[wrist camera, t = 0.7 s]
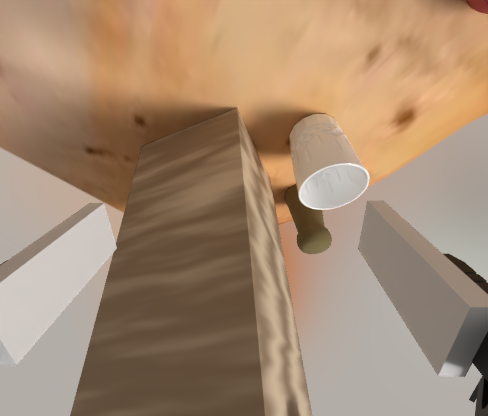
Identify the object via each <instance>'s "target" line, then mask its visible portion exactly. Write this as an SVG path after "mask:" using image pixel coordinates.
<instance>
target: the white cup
mask: <svg viewBox="0 0 488 416" xmlns="http://www.w3.org/2000/svg"><path fill="white" fill-rule="evenodd" d="M289 145H290V149H291V158H292V164H293V171H294V176H295V181H296V186H297V191H298V196H299V199H300V201H301V203H302V204H304V205H305V206H307V207H309V208H312V209H317V210H327V209H333V208H338V207H341V206H343V205H346V204H348V203H350V202H352V201H353V200H355V199H356V198H357V197H359V196H360V195H361V194H362V193H363V192H364V191H365V189H366V188H367V186H368V184H369V174H368V172H367V170H366V168H365V166H364V165H363V163H362V161H361V160H360V158H359V156H358V154H357V153H356V151H355V149H354V147H353V146H352V144H351V143H350V141H349V140H348V138H347V136H346V135H345V134H344V132H343V131H342V130H341V128H340V127H339V125H338V123H337V121H336V120H335V119H334V118H333V117H331V116H329V115H327V114H313V115H310V116H307V117H305V118H303V119H302V120H300V121H299V122H298V123H297V124H296V125H294V127H293V129H292V131H291V133H290V135H289Z"/></svg>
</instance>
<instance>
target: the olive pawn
mask: <svg viewBox="0 0 488 416" xmlns="http://www.w3.org/2000/svg"><path fill="white" fill-rule="evenodd" d="M285 200H286V202H287V205H288V208H289V210H290V213H291V215H292V218H293V220H294V223H295V225H296V228H297V230H298V235H297V244H298V247H299V248H300V249H301V250H302V251H303V252H304V253H308V254H317V253H321V252H323V251H325V250H327V249H328V248H329V246H330V245H331V241H332V240H331V239H332V238H331V234H330V232H329V231H328V229H327V228H325V227H324V221H323V214H322V210H317V209H312V208H309V207H307V206H305V205H304V204H302V203H301V201H300V199H299V196H298V191H297V186H296V185H294V186H292V187H291V188H289V189H288V190H287V191H286V193H285Z"/></svg>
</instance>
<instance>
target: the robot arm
mask: <svg viewBox="0 0 488 416" xmlns="http://www.w3.org/2000/svg"><path fill="white" fill-rule="evenodd" d="M116 249H117V247H116V243H115V240H114V236H113V232H112V229H111V226H110V222H109V218H108V215H107V212H106V208H105V204H104V203H89V204H88V205H86V206H85V207H83V208H82V209H81V210H79V211H78V212H76V213H75V214H73V215H72V216H71V217H69V218H68V219H66V220H65V221H63V222H62V223H61V224H59V225H58V226H56V227H55V228H53V229H52V230H51V231H49V232H48V233H46V234H45V235H44V236H42V237H41V238H39V239H38V240H36V241H35V242H33V243H32V244H31V245H29V246H28V247H26V248H25V249H23V250H22V251H21V252H19V253H18V254H16V255H15V256H13V257H12V258H11V259H9V260H7V261H5V262H4V263H2V264H1V265H0V365H17V364H18V363H19V361H20V360H21V359H22V358H23V357H24V356H25V354H26V353H27V352H28V351H29V350H30V349H31V348H32V346H33V345H34V344H35V343H36V342H37V340H38V339H39V338H40V337H41V336H42V335H43V333H44V332H45V331H46V330H47V329H48V328H49V327H50V325H51V324H52V323H53V322H54V321H55V320H56V319H57V317H58V316H59V315H60V314H61V313H62V312H63V310H64V309H65V308H66V307H67V306H68V305H69V303H70V302H71V301H72V300H73V299H74V298H75V296H76V295H77V294H78V293H79V292H80V291H81V290H82V288H83V287H84V286H85V285H86V284H87V283H88V281H89V280H90V279H91V278H92V277H93V275H94V274H95V273H96V272H97V271H98V270H99V269H100V267H101V266H102V265H103V264H104V263H105V262H106V260H107V259H108V258H109V257H110V256H111V255H112V254H113V252H114V251H115V250H116ZM358 249H359V251H360V252H361V254H362V256H363V257H364V258H365V260H366V262H367V263H368V265H369V267H370V268H371V270H372V271H373V273H374V274H375V276H376V278H377V279H378V281H379V283H380V284H381V286H382V287H383V289H384V291H385V292H386V293H387V295H388V297H389V298H390V300H391V302H392V303H393V305H394V306H395V308H396V310H397V311H398V313H399V314H400V316H401V318H402V319H403V321H404V322H405V324H406V326H407V327H408V329H409V330H410V332H411V333H412V335H413V337H414V338H415V340H416V341H417V343H418V345H419V346H420V348H421V349H422V351H423V353H424V354H425V356H426V357H427V359H428V360H429V362H430V364H431V365H432V367H433V368H434V370H435V372H436V373H437V375H438V376H462V377H463V376H464V377H465V376H466V374H467V372H468V370H469V368H470V366H471V365H472V363H473V364H474V365H475V366H476V368H477V369H478V370H479V371H480V373H481V374H482V375H483V376H482V378H481V379H480V381H479V383H478V385H477V386H476V388H475V390H474V391H473V393H472V395H471V397H470V399H469V400H471V401H472V402H475V400H476V398H477V401H476V411H475V416H488V283H487V282H486V280H485V279H484V278H482V277H481V276H480V275H478V274H476V272H475V271H474V270H473V269H472V268H471V267H469V266H468V265H467V264H466V263H465V262H463V261H461V260H459V259H457V258H455V257H454V256H452V255H450V254H442V253H441V252H440V251H439V250H438V249H437V248H436V247H434V246H433V245H432V244H431V243H430V242H429V241H428V240H427V239H426V238H424V237H423V236H422V235H421V234H420V233H419V232H418V231H417V230H416V229H414V228H413V227H412V226H411V225H410V224H409V223H408V222H407V221H405V220H404V219H403V218H402V217H401V216H400V215H399V214H398V213H397V212H395V211H394V210H393V209H392V208H391V207H390V206H389V205H388V204H386V203H385V202H384V201H367V205H366V210H365V215H364V221H363V226H362V232H361V237H360V242H359V247H358Z"/></svg>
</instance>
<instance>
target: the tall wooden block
mask: <svg viewBox="0 0 488 416" xmlns="http://www.w3.org/2000/svg"><path fill="white" fill-rule="evenodd" d="M116 247H117V249H116V250H115V251H114V253H113V257H112V261H111V264H110V268H109V272H108V276H107V279H106V283H105V287H104V291H103V295H102V298H101V302H100V306H99V310H98V313H97V317H96V321H95V325H94V329H93V332H92V336H91V340H90V343H89V347H88V351H87V355H86V359H85V363H84V366H83V370H82V374H81V377H80V381H79V385H78V389H77V392H76V396H75V400H74V404H73V407H72V411H71V415H70V416H312V412H311V406H310V401H309V395H308V389H307V384H306V378H305V373H304V367H303V361H302V355H301V350H300V344H299V338H298V333H297V327H296V322H295V316H294V310H293V305H292V300H291V294H290V288H289V282H288V277H287V271H286V265H285V260H284V254H283V249H282V243H281V237H280V232H279V226H278V220H277V215H276V209H275V203H274V198H273V192H272V187H271V181H270V178H269V176H268V174H267V172H266V169H265V167H264V165H263V163H262V161H261V159H260V156H259V154H258V152H257V150H256V148H255V146H254V144H253V141H252V139H251V137H250V135H249V133H248V131H247V128H246V126H245V124H244V122H243V120H242V118H241V115H240V113H239V111H238V109H237V108H235V109H233V110H230V111H228V112H225V113H223V114H220V115H218V116H215V117H213V118H210V119H208V120H206V121H203V122H201V123H198V124H196V125H193V126H191V127H188V128H186V129H183V130H181V131H178V132H176V133H173V134H171V135H168V136H166V137H163V138H161V139H158V140H156V141H154V142H151V143H149V144H146V145H144V146H142V148H141V151H140V155H139V159H138V163H137V166H136V170H135V174H134V178H133V182H132V185H131V189H130V193H129V197H128V200H127V204H126V208H125V212H124V216H123V219H122V223H121V227H120V231H119V234H118V238H117V242H116Z"/></svg>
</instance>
